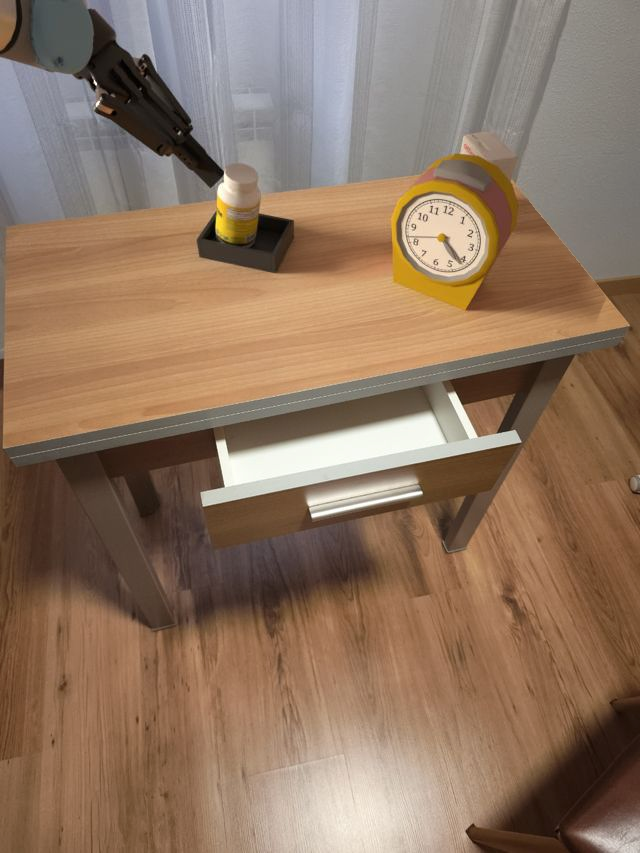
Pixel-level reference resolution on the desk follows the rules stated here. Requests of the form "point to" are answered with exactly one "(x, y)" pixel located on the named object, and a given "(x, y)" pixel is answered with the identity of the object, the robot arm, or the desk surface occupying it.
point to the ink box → (490, 151)
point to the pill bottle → (238, 206)
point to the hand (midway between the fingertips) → (217, 180)
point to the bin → (262, 254)
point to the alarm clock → (452, 228)
